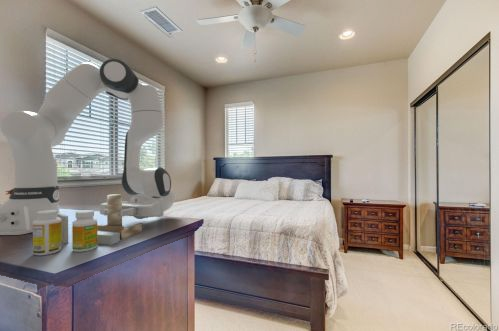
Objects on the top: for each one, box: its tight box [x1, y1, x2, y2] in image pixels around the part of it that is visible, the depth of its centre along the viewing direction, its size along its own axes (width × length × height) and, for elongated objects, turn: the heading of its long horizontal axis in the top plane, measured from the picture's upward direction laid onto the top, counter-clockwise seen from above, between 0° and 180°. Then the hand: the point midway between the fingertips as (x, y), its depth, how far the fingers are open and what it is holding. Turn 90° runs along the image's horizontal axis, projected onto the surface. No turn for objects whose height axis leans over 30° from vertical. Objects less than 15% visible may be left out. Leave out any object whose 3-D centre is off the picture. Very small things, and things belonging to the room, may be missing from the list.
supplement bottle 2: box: [71, 209, 98, 253], centre depth 64 cm, size 5×5×10 cm
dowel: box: [106, 193, 123, 226], centre depth 76 cm, size 4×4×11 cm
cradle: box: [97, 222, 143, 240], centre depth 78 cm, size 9×10×4 cm
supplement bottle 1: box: [32, 210, 63, 257], centre depth 62 cm, size 6×6×10 cm
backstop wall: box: [97, 231, 121, 246], centre depth 70 cm, size 3×12×2 cm, turn 76°
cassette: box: [57, 212, 69, 245], centre depth 72 cm, size 12×2×8 cm, turn 54°
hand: (112, 213), depth 76 cm, fingers closed on dowel, 4 cm apart
